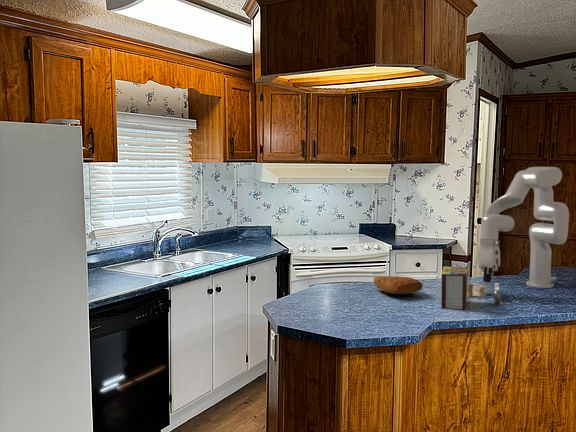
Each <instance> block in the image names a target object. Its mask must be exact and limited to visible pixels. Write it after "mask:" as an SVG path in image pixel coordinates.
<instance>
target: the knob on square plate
mask: <svg viewBox="0 0 576 432" xmlns="http://www.w3.org/2000/svg"><path fill="white" fill-rule="evenodd" d="M493 294H494V295H493V301H488V304H489V305H493V306H496V307H499V306H505V305H506V303H505V302H502V301H501V290H500V289H499V290H495V289H494V293H493Z"/></svg>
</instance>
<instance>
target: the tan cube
mask: <svg viewBox="0 0 576 432" xmlns="http://www.w3.org/2000/svg"><path fill="white" fill-rule="evenodd" d="M473 295H475V296H477V297H483V296H487V295H488V287H487V286H485V285H481V284H477V285H473Z"/></svg>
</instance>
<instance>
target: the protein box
mask: <svg viewBox="0 0 576 432" xmlns="http://www.w3.org/2000/svg"><path fill="white" fill-rule="evenodd" d="M467 283H468V267H459V266H458V267H457V266H443V268H442V272H441V301H440V303H441V305H440V306H441V307H440V309H444V310H445V309H446V310H457V311H458V310H459V311H467V300H468V299H467V298H468V297H467Z"/></svg>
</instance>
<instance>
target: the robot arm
mask: <svg viewBox="0 0 576 432" xmlns="http://www.w3.org/2000/svg"><path fill="white" fill-rule="evenodd" d="M562 172H563V171H562V170H561V169H560V168H559V167H556V166H532V167H531V166H530V167H528V168H526V169H523V170H522V169H521V170H519V171H518V172H516V174H515V175H514V177H513V179H512V181H511V183H510V185H509V186H508V187H507V190H506V192H505V194H504V195H502V196H500V197H499V198H497V199H496V200H495V201H493V202H491V204H490V205H489V206H488V207H487V209H486V211H485V213H484V215H483V216H482V217H481V222H480V223H481V224H480V242H479V243H480V244H479V246H478V250H477V257H476V258H477V259H476V260H477V261H476V262H477V267H478V268H480V269H481V270H482V272H481V273H482V274H483V277H482V278H483V279H482V280H483V281H482V282H484V283H491V282H492V275H493V273H494V272H498V271H499V268H500V267H501V249H500V246H499V244H500V241H499V232H510V231H512V230H514V229H513V228H514V227H515V220H514V218H513V217H512V216H510V215H507V214H505V215H504V214H500V213H501V212H503V211H505V210H507V209H510V208H514V207H516V206H519V205H521V204H523V203H524V200H525V198H526V197H527V195H528V192H530V189H533V193H534V196H533V197H534V198H533V216H534V218H535V219H536V220H539V221H545V222H553V223H545V222H536V223H533V224H532V225H530V227H529V229H528V230H529V231H528V235H529V236H528V237H529V243H530V254H529V255H530V256H529V257H530V258H529V280H526V281H525V285H526V286H528V287H532V288H539V289H550V288H554V283H553V281H556V280H557V277H556V276H551V273H552V255H553V254H552V248H551V247H550V244H553V245H563V244H565V243H566V241H567V239H568V235H569V234H568V233H569V221H570V211H569V208H568V206H567V205H566V204H565V203H564V202H560V201H559V202H558V201H554V190H553V186H555V185H558V184H559V183H560V182H561V180H562V177H563V173H562Z"/></svg>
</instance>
